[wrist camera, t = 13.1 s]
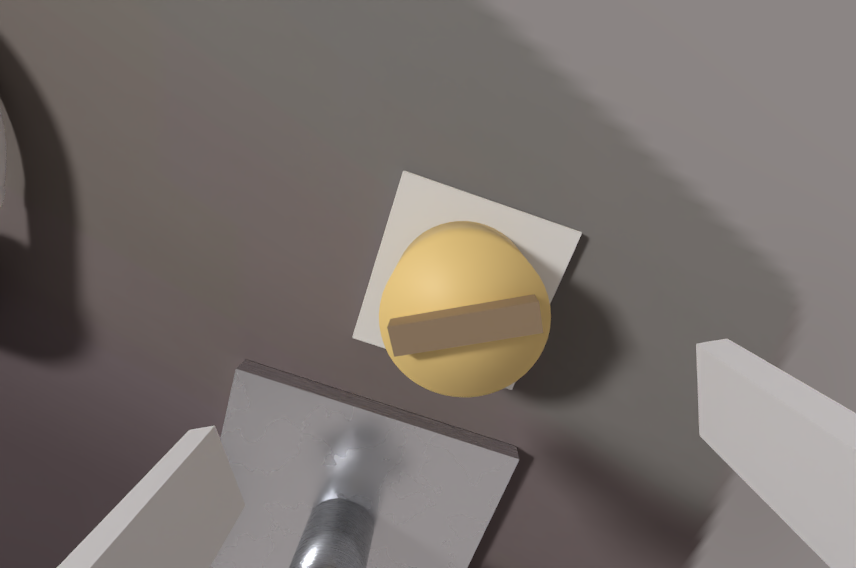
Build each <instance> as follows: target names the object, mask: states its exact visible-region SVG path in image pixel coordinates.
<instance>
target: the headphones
mask: <svg viewBox="0 0 856 568" xmlns="http://www.w3.org/2000/svg"><path fill="white" fill-rule="evenodd" d="M6 163H7V152H6V137H5V130H4V123H3V118H2V113H1V109H0V206H3V201H4V196H5V191H6V190H5V188H4V184H5V179H6Z"/></svg>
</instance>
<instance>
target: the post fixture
mask: <svg viewBox="0 0 856 568" xmlns="http://www.w3.org/2000/svg"><path fill="white" fill-rule="evenodd" d="M220 440H221V443H222V445H223V448H224V451H225V453H226V456H227V458H228V461H229V464H230V466H231V469H232V471H233V474H234V477H235V479H236V482H237V485H238V487H239V490H240V492H241V495H242V498H243V500H244V503H245V507H244V509H243V510H242V512H241V514H240V516H239V517H238V519H237V521H236V523H235V524H234V526H233V528H232V529H231V531H230V533H229V535H228V536H227V538H226V540H225V542H224V543H223V545H222V547H221V549H220V550H219V552H218V554H217V556H216V557H215V559H214V561H213V562H212V564H211V566H210V568H467V567H468V565H469V563H470V561H471V559H472V557H473V555H474V553H475V551H476V549H477V547H478V545H479V542H480V540H481V538H482V536H483V534H484V532H485V530H486V528H487V526H488V524H489V522H490V520H491V518H492V515H493V513H494V511H495V509H496V507H497V505H498V503H499V501H500V499H501V497H502V495H503V493H504V491H505V488H506V486H507V484H508V482H509V480H510V478H511V476H512V474H513V472H514V470H515V468H516V466H517V464H518V461H519V455H518V451H517V447H516V446H513V445H510V444H507V443H504V442H500V441H497V440H494V439H491V438H488V437H485V436H482V435H479V434H476V433H472V432H469V431H466V430H463V429H460V428H457V427H454V426H451V425H448V424H444V423H441V422H438V421H435V420H432V419H429V418H426V417H423V416H420V415H416V414H413V413H410V412H407V411H404V410H401V409H398V408H395V407H392V406H388V405H385V404H382V403H379V402H376V401H373V400H370V399H367V398H364V397H360V396H357V395H354V394H351V393H348V392H345V391H342V390H339V389H336V388H332V387H329V386H326V385H323V384H320V383H317V382H314V381H311V380H308V379H304V378H301V377H298V376H295V375H292V374H289V373H286V372H283V371H280V370H277V369H273V368H270V367H267V366H264V365H261V364H258V363H255V362H252V361H249V360H245V361H243V362H242V363H241V364H240V365H239V366H238V367H237V368H236V371H235V375H234V380H233V384H232V389H231V393H230V398H229V403H228V407H227V412H226V416H225V421H224V425H223V430H222V434H221V439H220Z"/></svg>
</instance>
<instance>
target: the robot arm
mask: <svg viewBox="0 0 856 568" xmlns="http://www.w3.org/2000/svg"><path fill="white" fill-rule="evenodd" d="M696 352H697V380H698V407H699V434H700V436H701V437H702V438H703V439H704V440H705V441H706V442H707V444H708V445H709V446H710V447H711V448H712V449H713V450H714V451H715V452H716V453H717V454H718V455H719V456H720V457H721V458H722V459H723V460H724V461H725V462H726V463H727V464H728V465H729V466H730V467H731V468H732V469H733V470H734V471H735V472H736V473H737V474H738V475H739V476H740V477H741V478H742V479H743V480H744V481H745V482H746V483H747V484H748V485H749V486H750V487H751V488H752V489H753V490H754V491H755V492H756V493H757V494H758V495H759V496H760V497H761V498H762V499H763V500H764V501H765V502H766V503H767V504H768V505H769V506H770V507H771V508H772V509H773V510H774V511H775V512H776V513H777V514H778V515H779V516H780V517H781V518H782V519H783V520H784V521H785V522H786V523H787V524H788V525H789V526H790V527H791V529H792V530H793V531H794V532H795V533H796V534H797V535H798V536H799V537H800V538H801V539H802V540H803V541H804V542H805V543H806V544H807V545H808V546H809V547H810V548H811V549H813V551H814V552H815V553H816V554H817V555H818V556H819V557H820V558H821V559H822V560H823V561H824V562H825V563H826V564H827V565H828V566H829V567H830V568H856V413H854V412H853V411H851V410H849V409H848V408H846V407H844V406H842V405H840V404H839V403H837V402H835V401H834V400H832V399H830V398H829V397H827V396H825V395H823V394H822V393H820V392H818V391H816V390H815V389H813V388H811V387H810V386H808V385H806V384H804V383H803V382H801V381H799V380H797V379H796V378H794V377H792V376H791V375H789V374H787V373H786V372H784V371H782V370H780V369H779V368H777V367H775V366H773V365H772V364H770V363H768V362H767V361H765V360H763V359H761V358H760V357H758V356H756V355H754V354H753V353H751V352H749V351H748V350H746V349H744V348H742V347H741V346H739V345H737V344H736V343H734V342H732V341H730V340H729V339H722V340H716V341H710V342H704V343H698V344H696ZM244 507H245V503H244V500H243V498H242V495H241V492H240V490H239V487H238V485H237V482H236V479H235V477H234V474H233V471H232V469H231V466H230V464H229V461H228V458H227V456H226V453H225V451H224V448H223V445H222V443H221V440H220V438H219V435H218V432H217V430H216V427H215V426H210V427H204V428H198V429H192V430H189V431H188V432H187V433H186V434H185V435H184V436H183V437H182V438H181V439H180V440H179V441H178V442H177V443H176V444H175V445H174V446H173V447H172V448H171V450H170V451H169V452H168V453H167V454H166V455H165V456H164V457H163V458H162V459H161V460H160V461H159V462H158V463H157V464H156V465H155V466H154V467H153V468H152V469H151V470H150V471H149V472H148V473H147V474H146V476H145V477H144V478H143V479H142V480H141V481H140V482H139V483H138V484H137V485H136V486H135V487H134V488H133V489H132V490H131V491H130V492H129V493H128V494H127V495H126V496H125V497H124V498H123V499H122V501H121V502H120V503H119V504H118V505H117V506H116V507H115V508H114V509H113V510H112V511H111V512H110V513H109V514H108V515H107V516H106V517H105V518H104V519H103V520H102V521H101V522H100V523H99V524H98V525H97V527H96V528H95V529H94V530H93V531H92V532H91V533H90V534H89V535H88V536H87V537H86V538H85V539H84V540H83V541H82V542H81V543H80V544H79V545H78V546H77V547H76V548H75V549H74V550H73V551H72V553H71V554H70V555H69V556H68V557H67V558H66V559H65V560H64V561H63V562H62V563H61V564H60V565H59V566H58V567H57V568H210V566H211V564H212V562H213V561H214V559H215V557H216V556H217V554H218V552H219V550H220V549H221V547H222V545H223V543H224V542H225V540H226V538H227V536H228V535H229V533H230V531H231V529H232V528H233V526H234V524H235V523H236V521H237V519H238V517H239V516H240V514H241V512H242V510H243V509H244Z"/></svg>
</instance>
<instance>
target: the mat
mask: <svg viewBox="0 0 856 568" xmlns="http://www.w3.org/2000/svg"><path fill="white" fill-rule="evenodd" d="M454 221H471V222H477V223H481V224H485V225H487V226H490V227H492V228H494V229H496V230H498V231H499V232H501V233H503V234H504V235H505V236H506V237H508V238H509V239H510V240H511V241H512V242H513V243H514V244H515V245H516V247H517V248H518V249H519V250H520V252H521V253H522V254H523V255H524V257H525V258H526V259H527V260H528V262H529V263H530V264H531V265H532V267H533V268H534V269H535V271H536V272H537V274H538V275H539V276H540V278H541V280H542V282H543V284H544V286H545V289H546V291H547V294H548V298H549V303H550V304H551V301H552V299H553V297H554V295H555V292H556V290H557V288H558V286H559V283H560V281H561V279H562V277H563V275H564V272H565V270H566V268H567V266H568V263H569V261H570V259H571V257H572V254H573V252H574V250H575V248H576V246H577V243H578V241H579V239H580V237H581V234H582V232H580V231H577V230H575V229H572V228H569V227H566V226H563V225H560V224H557V223H554V222H552V221H549V220H546V219H543V218H540V217H537V216H534V215H531V214H528V213H526V212H523V211H520V210H517V209H514V208H511V207H508V206H505V205H503V204H500V203H497V202H494V201H491V200H488V199H485V198H482V197H480V196H477V195H474V194H471V193H468V192H465V191H462V190H459V189H456V188H454V187H451V186H448V185H445V184H442V183H439V182H436V181H433V180H431V179H428V178H425V177H422V176H419V175H416V174H413V173H410V172H408V171H405V170H404V171H403V173H402V177H401V180H400V183H399V186H398V190H397V193H396V196H395V199H394V203H393V206H392V209H391V213H390V216H389V219H388V222H387V226H386V229H385V232H384V235H383V239H382V242H381V245H380V249H379V252H378V255H377V258H376V262H375V265H374V268H373V272H372V275H371V278H370V281H369V285H368V288H367V291H366V294H365V298H364V301H363V304H362V308H361V311H360V314H359V317H358V321H357V324H356V327H355V330H354V334H353V337H352V338H355V339H358V340H361V341H364V342H367V343H370V344H373V345H376V346H379V347H382V348H385V346H384V343H383V340H382V337H381V332H380V327H379V308H380V302H381V298H382V294H383V291H384V289H385V286H386V284H387V282H388V280H389V278H390V276H391V275H392V273H393V271H394V269H395V267H396V266H397V264H398V262H399V260H400V258H401V257H402V255H403V253H404V251H405V250H406V249H407V247H408V246H409V245H410V244H411V243H412V242H413V241H414V240H415V239H416V238H417V237H418V236H420V235H421V234H422V233H423V232H425V231H427V230H429V229H430V228H433V227H435V226H438V225H440V224H444V223H448V222H454ZM385 349H386V348H385ZM514 384H515V382H514V383H513V384H511V385H509V386H508V387H505V388H507V389H510V390H512V388H513V386H514Z"/></svg>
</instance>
